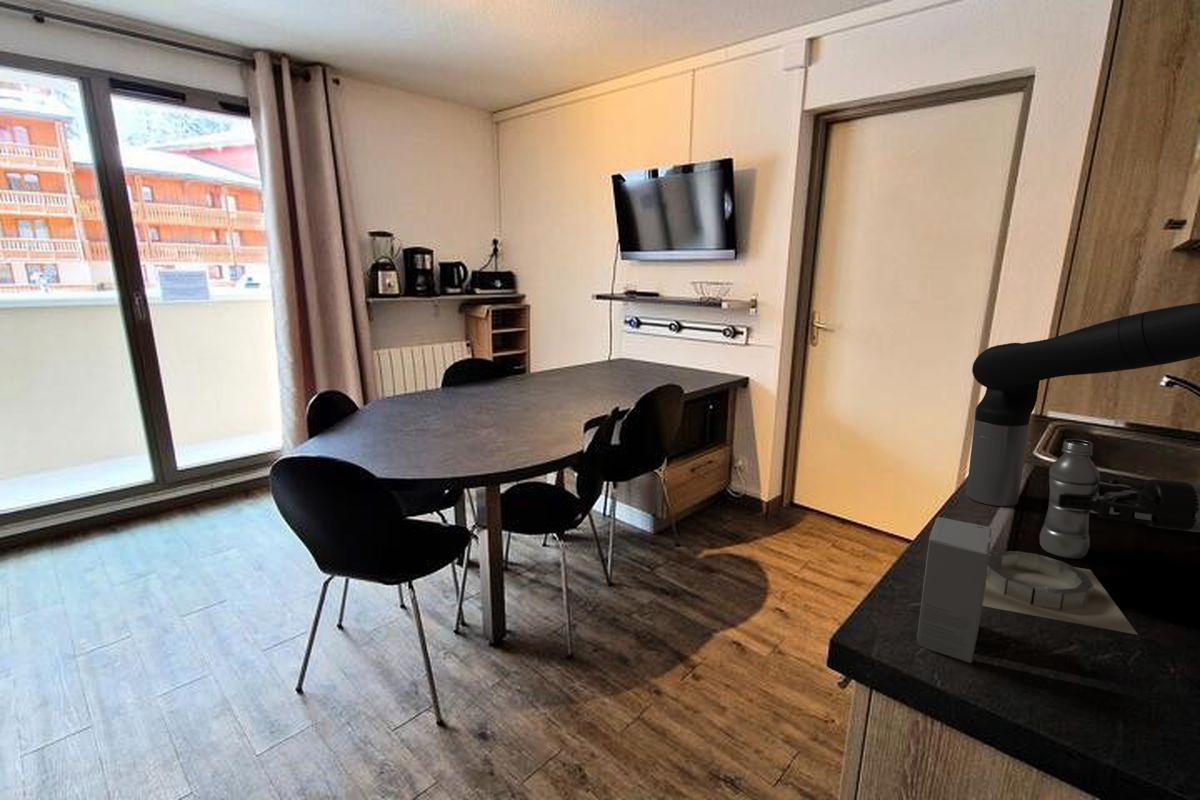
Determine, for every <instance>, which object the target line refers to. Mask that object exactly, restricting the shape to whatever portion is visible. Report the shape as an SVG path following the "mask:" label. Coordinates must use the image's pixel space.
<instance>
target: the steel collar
mask: <svg viewBox="0 0 1200 800" xmlns="http://www.w3.org/2000/svg"><path fill="white" fill-rule="evenodd" d="M1074 567H1075V566H1072V565H1071V564H1069V563H1066V562H1064V561H1061V560H1057V559H1056V558H1055V559H1054V558H1051V557H1049V556H1045V555H1042V554H1038V553H1033V552H1024V551H1019V550H1015V551H1014V550H1009V551H1008V550H1006V551H996V552H993V553H991V555H990V556H989V562H988V571H987V579H986V580H987V582H988V583H989V584H990V585H991V586H993V587H994V588H996V589H997V590H998V591H1000V592H1001V593H1003V594H1006V596H1009V597H1012V598H1014V599H1017V600H1019V601H1022V602H1025V603H1027V604H1030V605H1031V604H1033V605H1034V606H1039V607H1045V608H1050V609H1056V610H1060V609H1061V610H1072V609H1082V608H1084V607H1085V606H1086V605H1087V604H1088V603H1089V602H1090V601H1091V596H1092V590H1093V583H1092V582H1091V580H1090V579H1089V578H1088V576H1087V575H1086V574H1085V573H1083V572H1082V571H1080V570H1078V569H1076V568H1074ZM1007 569H1021V570H1027V571H1033V572H1038V573H1041V574H1044V575H1047V576H1050V577H1053V578H1056V579H1059V580H1060V581H1062V582H1064V583H1065V584H1067V585H1069V586H1070V587H1072V589H1052V588H1046V587H1040V586H1034V585H1031V584H1029V583H1026V582H1023V581H1020V580H1017V579H1015V578H1012V577H1011V576H1009V575H1008V574H1006V573H1005V572H1003V571H1001V570H1007Z"/></svg>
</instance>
